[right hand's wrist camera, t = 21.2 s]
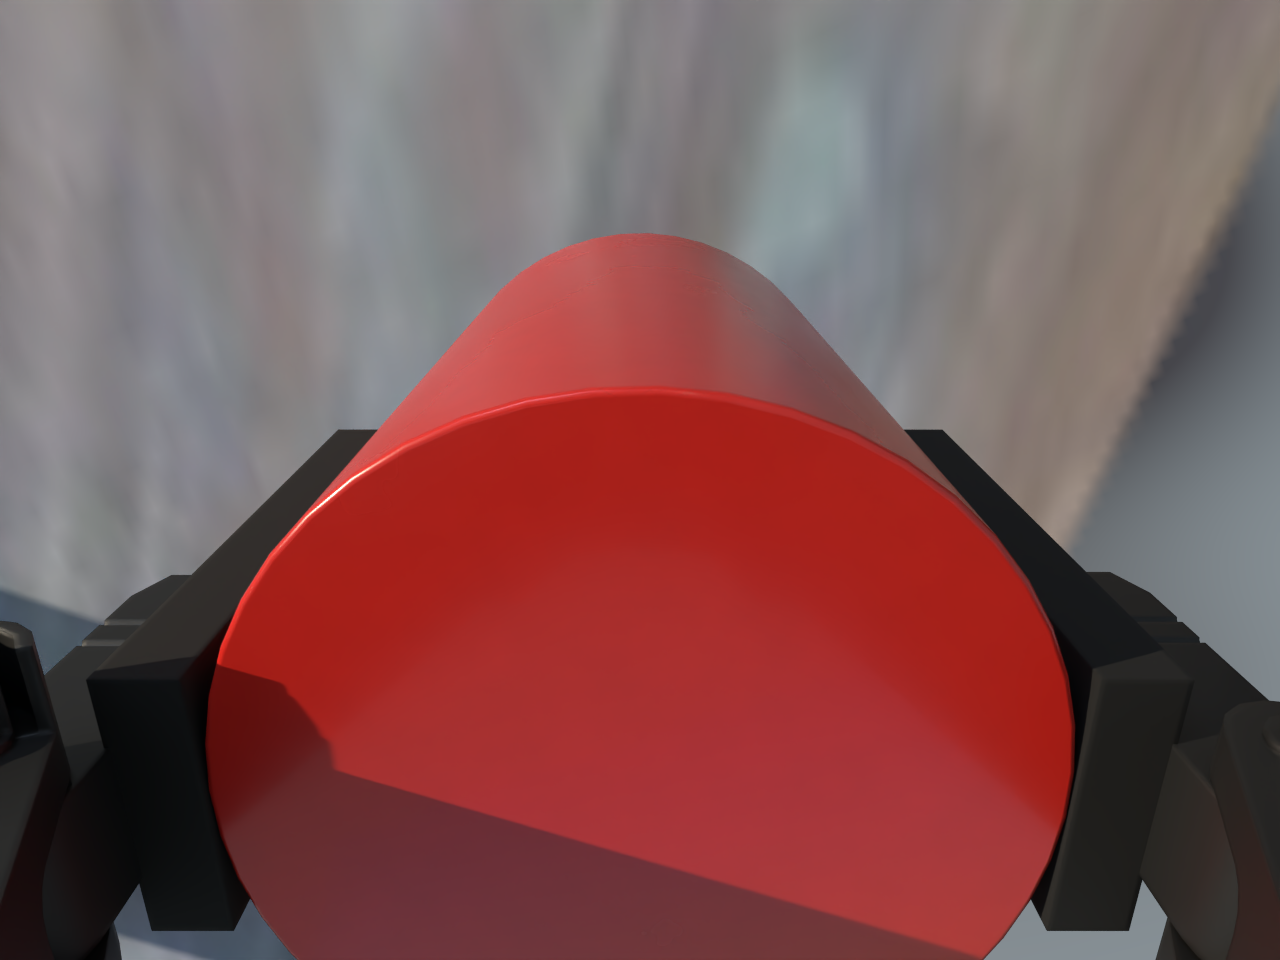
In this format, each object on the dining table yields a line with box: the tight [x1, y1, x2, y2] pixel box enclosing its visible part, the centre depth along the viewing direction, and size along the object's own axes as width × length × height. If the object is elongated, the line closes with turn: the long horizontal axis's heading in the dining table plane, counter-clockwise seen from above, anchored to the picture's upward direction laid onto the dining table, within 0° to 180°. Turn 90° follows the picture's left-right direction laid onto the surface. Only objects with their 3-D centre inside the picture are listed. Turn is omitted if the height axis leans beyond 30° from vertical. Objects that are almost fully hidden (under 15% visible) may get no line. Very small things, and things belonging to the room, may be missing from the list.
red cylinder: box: [205, 233, 1075, 960], centre depth 13 cm, size 8×8×10 cm
